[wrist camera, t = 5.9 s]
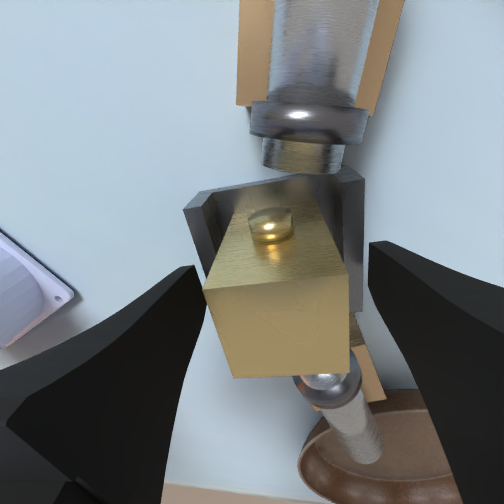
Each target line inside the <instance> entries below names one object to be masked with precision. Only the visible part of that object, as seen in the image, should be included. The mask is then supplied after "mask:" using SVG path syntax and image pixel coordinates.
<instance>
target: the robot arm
mask: <svg viewBox="0 0 504 504" xmlns="http://www.w3.org/2000/svg"><path fill="white" fill-rule="evenodd" d="M368 287H369V290H370V293H371V295H372V298H373V300H374V303H375V305H376V308H377V310H378V311H379V313H380V315H381V317H382V319H383V320H384V322H385V324H386V326H387V328H388V329H389V331H390V333H391V335H392V337H393V338H394V340H395V342H396V344H397V345H398V347H399V349H400V351H401V353H402V354H403V356H404V358H405V360H406V362H407V364H408V366H409V368H410V370H411V372H412V375H413V377H414V379H415V382H416V384H417V386H418V388H419V391H420V393H421V395H422V398H423V400H424V403H425V405H426V408H427V410H428V412H429V415H430V417H431V420H432V422H433V425H434V427H435V430H436V432H437V435H438V437H439V440H440V443H441V445H442V448H443V450H444V453H445V455H446V458H447V461H448V463H449V466H450V468H451V471H452V474H453V477H454V479H455V482H456V485H457V488H458V491H459V493H460V496H461V499H462V502H463V504H504V288H503V287H500V286H497V285H494V284H490V283H487V282H484V281H481V280H478V279H476V278H473V277H470V276H467V275H465V274H462V273H460V272H457V271H455V270H452V269H450V268H447V267H445V266H442V265H440V264H438V263H435V262H433V261H431V260H429V259H426V258H424V257H422V256H420V255H418V254H415V253H413V252H411V251H409V250H407V249H405V248H403V247H400V246H398V245H396V244H394V243H391V242H389V241H379V242H371V243H369V262H368ZM202 289H203V288H202V285H201V283H200V280H199V277H198V274H197V271H196V268H195V266H194V265H190V266H182V267H180V268H178V269H176V270H175V271H173V272H172V273H171V274H169V275H168V276H166V277H165V278H164V279H162V280H161V281H160V282H159V283H157V284H156V285H155V286H153V287H152V288H151V289H149V290H148V291H147V292H145V293H144V294H143V295H141V296H140V297H138V298H137V299H135V300H134V301H133V302H131V303H130V304H128V305H127V306H126V307H124V308H123V309H121V310H120V311H118V312H117V313H115V314H113V315H112V316H110V317H109V318H107V319H105V320H104V321H102V322H100V323H99V324H97V325H95V326H93V327H92V328H90V329H88V330H86V331H84V332H82V333H80V334H79V335H77V336H75V337H73V338H71V339H69V340H67V341H65V342H63V343H61V344H59V345H57V346H55V347H53V348H51V349H49V350H47V351H44V352H42V353H40V354H38V355H36V356H33V357H31V358H29V359H27V360H24V361H22V362H19V363H17V364H15V365H12V366H10V367H7V368H5V369H2V370H0V504H160V503H161V497H162V490H163V484H164V477H165V470H166V464H167V459H168V453H169V447H170V442H171V436H172V431H173V426H174V421H175V417H176V412H177V407H178V403H179V398H180V394H181V390H182V386H183V381H184V378H185V375H186V371H187V368H188V365H189V362H190V359H191V357H192V354H193V351H194V348H195V345H196V342H197V339H198V337H199V334H200V331H201V328H202V325H203V321H204V317H205V312H206V306H207V302H206V299H205V296H204V293H203V291H202ZM73 297H74V292H73V291H72V290H71V289H70V288H69V287H68V286H67V285H65V284H64V283H63V282H62V281H60V280H59V279H58V278H57V277H55V276H54V275H53V274H52V273H50V272H49V271H48V270H47V269H46V268H44V267H43V266H42V265H41V264H39V263H38V262H37V261H36V260H34V259H33V258H32V257H31V256H29V255H28V254H27V253H26V252H24V251H23V250H22V249H21V248H19V247H18V246H17V245H16V244H14V243H13V242H12V241H11V240H9V239H8V238H7V237H6V236H5V235H3V234H2V233H1V232H0V349H1V348H2V347H8V346H10V345H11V344H12V343H14V342H15V341H16V340H18V339H19V338H20V337H22V336H23V335H24V334H26V333H27V332H28V331H30V330H31V329H32V328H34V327H35V326H36V325H38V324H39V323H40V322H42V321H43V320H44V319H46V318H47V317H48V316H50V315H51V314H52V313H54V312H55V311H56V310H58V309H59V308H60V307H62V306H63V305H64V304H66V303H67V302H68V301H70V300H71V299H72V298H73Z"/></svg>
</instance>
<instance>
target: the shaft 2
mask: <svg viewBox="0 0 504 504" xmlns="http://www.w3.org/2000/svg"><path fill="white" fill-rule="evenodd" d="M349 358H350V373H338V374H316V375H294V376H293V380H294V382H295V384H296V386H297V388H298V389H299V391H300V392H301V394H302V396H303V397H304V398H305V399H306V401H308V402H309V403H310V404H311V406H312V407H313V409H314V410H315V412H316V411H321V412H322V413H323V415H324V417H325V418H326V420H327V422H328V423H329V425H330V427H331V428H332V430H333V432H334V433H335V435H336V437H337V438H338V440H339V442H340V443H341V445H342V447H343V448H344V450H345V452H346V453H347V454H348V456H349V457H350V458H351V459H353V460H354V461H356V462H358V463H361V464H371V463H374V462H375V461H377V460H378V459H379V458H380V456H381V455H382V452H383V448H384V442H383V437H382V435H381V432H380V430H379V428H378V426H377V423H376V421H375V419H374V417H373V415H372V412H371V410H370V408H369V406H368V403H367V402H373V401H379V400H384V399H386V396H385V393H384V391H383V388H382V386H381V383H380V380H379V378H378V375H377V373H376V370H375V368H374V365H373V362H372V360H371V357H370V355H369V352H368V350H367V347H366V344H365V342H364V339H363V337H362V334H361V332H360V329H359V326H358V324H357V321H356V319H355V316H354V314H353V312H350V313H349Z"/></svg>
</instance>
